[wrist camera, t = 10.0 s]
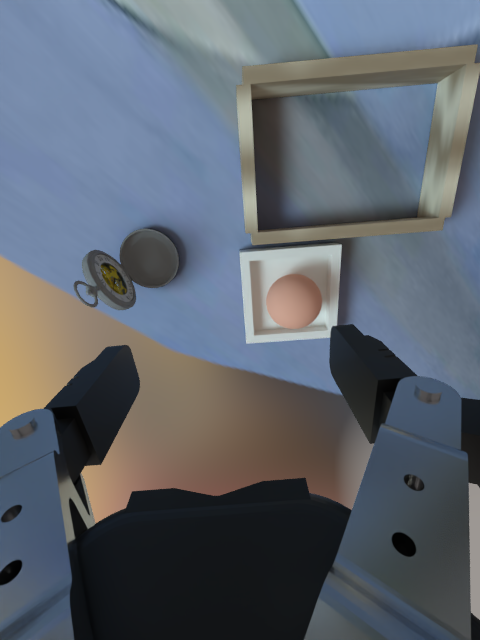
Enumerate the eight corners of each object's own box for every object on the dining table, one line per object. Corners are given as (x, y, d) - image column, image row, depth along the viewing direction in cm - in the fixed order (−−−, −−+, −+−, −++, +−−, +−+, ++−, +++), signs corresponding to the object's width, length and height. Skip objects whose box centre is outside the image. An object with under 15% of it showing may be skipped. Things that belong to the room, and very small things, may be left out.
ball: (262, 271, 31) (268, 283, 26) (314, 267, 31) (331, 278, 26) (264, 319, 34) (270, 340, 28) (313, 315, 33) (328, 336, 28)
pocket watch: (189, 246, 31) (168, 261, 22) (161, 307, 34) (131, 343, 24) (121, 209, 30) (68, 208, 20) (97, 276, 32) (40, 301, 23)
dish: (239, 249, 31) (239, 252, 29) (334, 242, 31) (341, 244, 29) (245, 336, 35) (246, 343, 33) (330, 329, 35) (336, 337, 33)
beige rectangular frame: (235, 85, 26) (235, 67, 22) (453, 65, 25) (485, 43, 22) (245, 242, 31) (246, 245, 28) (426, 227, 30) (448, 229, 27)
